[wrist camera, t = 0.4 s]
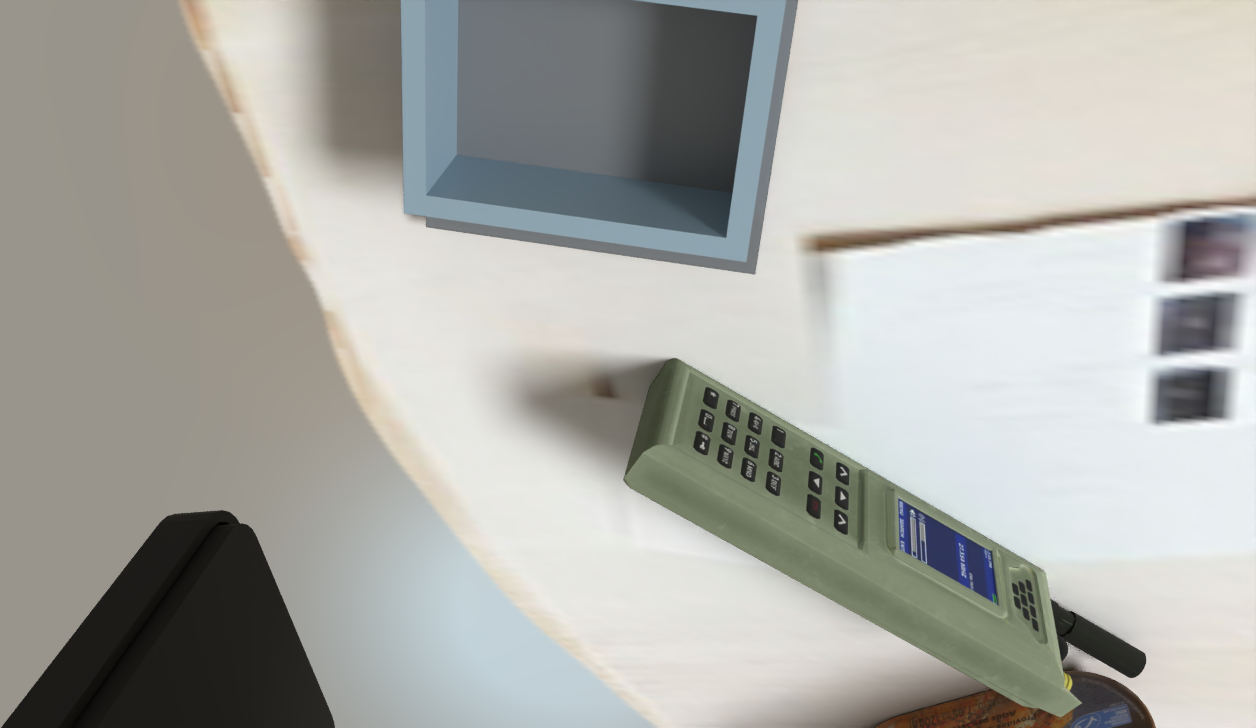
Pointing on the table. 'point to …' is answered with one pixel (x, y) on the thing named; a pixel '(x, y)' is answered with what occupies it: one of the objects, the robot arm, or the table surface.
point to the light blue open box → (596, 122)
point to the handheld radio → (860, 540)
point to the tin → (1037, 710)
